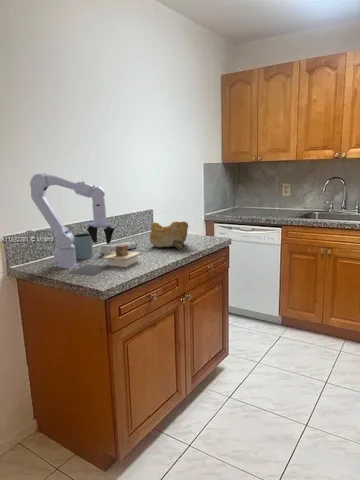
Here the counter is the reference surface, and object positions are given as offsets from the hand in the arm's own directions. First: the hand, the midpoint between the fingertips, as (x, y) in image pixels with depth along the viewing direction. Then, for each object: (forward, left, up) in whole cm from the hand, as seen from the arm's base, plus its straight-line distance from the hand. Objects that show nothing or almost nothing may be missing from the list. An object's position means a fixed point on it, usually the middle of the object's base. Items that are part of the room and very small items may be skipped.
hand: (101, 242), depth 170 cm
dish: (+9, +3, -10) cm, 14 cm away
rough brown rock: (+16, +44, -11) cm, 48 cm away
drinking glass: (-17, +7, -11) cm, 21 cm away
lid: (+9, +3, -6) cm, 11 cm away
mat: (+1, -11, -10) cm, 15 cm away
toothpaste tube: (-6, +23, -11) cm, 26 cm away
